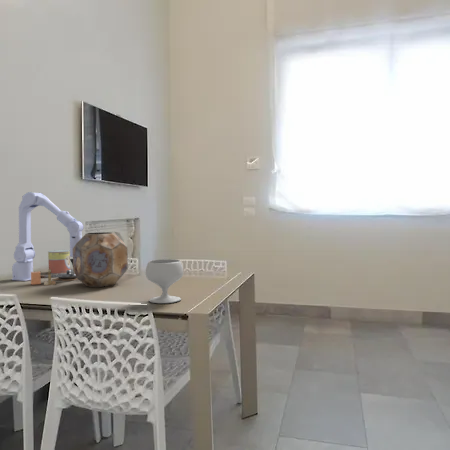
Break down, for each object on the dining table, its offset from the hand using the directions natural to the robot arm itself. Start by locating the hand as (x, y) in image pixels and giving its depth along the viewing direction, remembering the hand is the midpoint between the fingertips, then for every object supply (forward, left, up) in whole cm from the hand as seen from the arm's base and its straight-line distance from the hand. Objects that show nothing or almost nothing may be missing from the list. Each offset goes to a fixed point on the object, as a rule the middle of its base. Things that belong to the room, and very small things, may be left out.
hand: (76, 273), depth 213 cm
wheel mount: (-7, +2, -3) cm, 8 cm away
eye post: (-6, -12, -3) cm, 14 cm away
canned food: (-28, +17, -4) cm, 33 cm away
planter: (+20, -7, -4) cm, 22 cm away
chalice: (+66, -27, -4) cm, 72 cm away
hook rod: (-7, -13, -3) cm, 15 cm away
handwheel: (-7, +2, -3) cm, 8 cm away
